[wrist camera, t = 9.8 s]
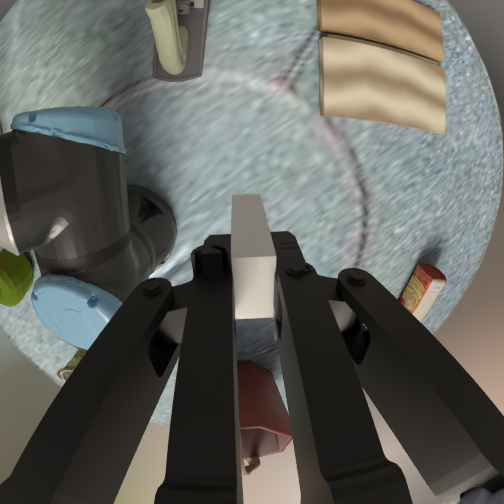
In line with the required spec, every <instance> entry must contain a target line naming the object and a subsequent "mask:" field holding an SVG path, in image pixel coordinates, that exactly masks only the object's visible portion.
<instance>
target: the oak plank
mask: <svg viewBox="0 0 504 504" xmlns="http://www.w3.org/2000/svg"><path fill="white" fill-rule="evenodd" d="M317 15H318V31H321V32H328V33H334V34H340V35H346V36H351V37H356V38H361V39H365V40H370V41H374V42H378V43H382V44H386V45H389V46H393V47H396V48H400V49H403V50H406V51H409V52H412V53H415V54H418V55H421V56H424V57H427V58H430V59H432V60H435V61H444V52H443V38H442V27H441V19H440V13H439V12H437V11H435V10H433V9H431V8H429V7H426V6H424V5H422V4H419V3H417V2H415V1H412V0H317Z"/></svg>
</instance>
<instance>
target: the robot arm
mask: <svg viewBox="0 0 504 504" xmlns="http://www.w3.org/2000/svg"><path fill="white" fill-rule="evenodd" d="M10 127H11V129H12V130H13V131H11V132H8V133H5V134H1V135H0V247H2V248H4V249H6V250H8V251H10V252H11V253H13V254H15V255H17V256H18V255H20V254H23V253H25V252H27V251H30V250H32V249H33V250H34V253H35V256H36V260H37V263H38V266H39V269H40V272H41V277H39V278H38V279H37V280H36V281H35V283H34V288H33V291H32V294H31V300H32V305H33V308H34V310H35V312H36V314H37V316H38V317H39V319H40V320H41V321H42V323H43V324H44V325H45V326H46V327H47V328H48V329H49V330H50V331H51V332H52V333H54V334H55V335H56V336H58V337H59V338H61V339H63V340H64V341H66V342H68V343H69V344H72V345H74V346H76V347H79V348H82V349H86V350H87V352H86V353H85V355H84V356H83V357H82V359H81V360H80V362H79V363H78V365H77V366H76V367H75V369H74V370H73V372H72V373H71V375H70V376H69V378H68V379H67V381H66V382H65V384H64V385H63V387H62V388H61V390H60V391H59V393H58V394H57V396H56V398H55V399H54V401H53V402H52V404H51V405H50V407H49V408H48V410H47V412H46V413H45V415H44V417H43V418H42V420H41V422H40V423H39V425H38V426H37V428H36V430H35V432H34V433H33V435H32V437H31V439H30V440H29V442H28V444H27V446H26V447H25V449H24V451H23V453H22V455H21V456H20V458H19V460H18V462H17V464H16V466H15V468H14V470H13V472H12V474H11V476H10V477H9V478H7V479H6V480H5V481H4V482H3V483H2V484H0V504H113V503H114V501H115V499H116V496H117V494H118V491H119V489H120V487H121V484H122V482H123V480H124V477H125V475H126V472H127V471H128V468H129V466H130V464H131V461H132V459H133V457H134V454H135V452H136V450H137V448H138V445H139V443H140V441H141V439H142V436H143V434H144V432H145V430H146V427H147V425H148V423H149V421H150V419H151V416H152V414H153V412H154V410H155V408H156V405H157V403H158V401H159V399H160V397H161V394H162V392H163V390H164V388H165V386H166V384H167V381H168V379H169V377H170V375H171V373H172V371H173V368H174V366H175V364H176V362H177V360H178V358H179V362H178V369H177V376H176V383H175V390H174V398H173V406H172V414H171V423H170V432H169V441H168V452H167V463H166V474H165V479H164V482H163V483H162V484H161V485H160V487H158V489H157V492H156V495H155V501H154V504H243V489H242V470H241V450H240V429H239V405H238V378H237V346H236V321H235V319H251V318H270V317H274V311H275V316H276V317H275V335H274V340H277V342H278V348H279V354H280V361H281V367H282V373H283V379H284V386H285V392H286V398H287V405H288V411H289V418H290V424H291V431H292V437H293V444H294V450H295V457H296V464H297V470H298V476H299V484H300V490H301V504H413V503H412V500H411V496H410V492H409V489H408V485H407V482H406V479H405V476H404V474H403V472H402V470H401V468H400V467H399V466H398V465H397V464H396V463H393V462H391V461H389V460H388V459H387V458H386V457H385V455H384V452H383V449H382V447H381V443H380V440H379V437H378V434H377V431H376V428H375V425H374V421H373V418H372V416H371V412H370V410H369V407H368V404H367V401H366V398H365V395H364V392H363V389H364V390H365V392H366V393H367V394H368V396H369V397H370V399H371V400H372V402H373V403H374V405H375V406H376V408H377V409H378V411H379V412H380V414H381V415H382V417H383V418H384V420H385V421H386V423H387V424H388V426H389V427H390V429H391V430H392V432H393V433H394V435H395V436H396V438H397V439H398V441H399V442H400V444H401V445H402V447H403V448H404V450H405V451H406V453H407V454H408V456H409V457H410V459H411V460H412V462H413V463H414V465H415V466H416V468H417V470H418V471H419V473H420V474H421V476H422V477H423V479H424V480H425V482H426V483H427V485H428V486H429V488H430V489H431V490H432V492H433V493H434V495H435V496H436V497H437V498H438V499H439V500H440V501H441V502H442V503H443V504H504V416H503V415H502V413H501V412H500V411H499V410H498V408H497V407H496V406H495V405H494V403H493V402H492V401H491V400H490V398H489V397H488V396H487V395H486V394H485V392H484V391H483V390H482V389H481V388H480V387H479V385H478V384H477V383H476V382H475V381H474V380H473V378H472V377H471V376H470V375H469V374H468V373H467V372H466V371H465V369H464V368H463V367H462V366H461V365H460V364H459V363H458V361H457V360H456V359H455V358H454V357H453V356H452V355H451V354H450V353H449V352H448V351H447V349H446V348H445V347H444V346H443V345H442V344H441V343H440V342H439V341H438V340H437V339H436V338H435V337H434V336H433V335H432V334H431V333H430V332H429V331H428V329H427V328H426V327H425V326H424V325H423V324H422V323H421V322H420V321H419V320H418V319H417V318H416V317H415V316H414V315H413V314H412V313H411V312H410V311H409V310H408V309H407V308H406V307H405V306H404V305H403V304H402V303H401V302H400V301H399V300H397V299H396V298H395V297H394V296H393V295H392V294H391V293H390V292H389V291H388V290H387V289H386V288H385V287H384V286H383V285H382V284H381V283H380V282H379V281H378V280H376V279H375V278H374V277H373V276H372V275H371V274H370V273H368V272H367V271H364V270H361V269H358V268H348V269H344V270H342V271H341V272H340V273H339V274H338V279H337V278H330V277H324V276H320V275H318V274H317V272H316V270H315V269H314V267H313V266H312V265H310V264H308V263H306V262H305V259H304V257H303V254H302V252H301V250H300V248H299V245H298V243H297V240H296V238H295V236H294V235H293V234H291V233H290V232H289V231H281V232H270V230H269V226H268V222H267V218H266V214H265V211H264V207H263V203H262V199H261V196H260V194H242V195H232V220H231V234H223V235H210V236H209V237H208V238H207V239H206V240H205V241H204V245H202V246H199V247H197V248H196V249H194V250H193V251H192V253H191V261H192V267H193V274H194V276H193V279H192V280H191V281H189V282H187V283H184V284H181V285H177V286H173V287H172V285H171V282H169V281H168V280H167V279H164V278H150V279H149V276H150V275H151V274H152V273H153V272H154V271H155V270H157V269H158V268H160V267H161V266H162V265H163V264H164V263H165V262H166V261H167V259H168V258H169V256H170V254H171V252H172V250H173V247H174V244H175V241H176V223H175V219H174V217H173V214H172V212H171V210H170V209H169V207H168V206H167V204H166V203H165V202H164V201H163V200H162V199H161V198H160V197H159V196H158V195H157V194H155V193H154V192H152V191H150V190H148V189H146V188H143V187H140V186H134V185H127V183H126V166H125V154H126V149H125V148H124V141H123V127H122V120H121V117H120V115H119V114H118V113H117V112H116V111H114V110H112V109H110V108H105V107H88V106H77V107H58V108H48V109H41V110H36V111H31V112H23V113H19V114H17V115H15V117H14V118H13V120H12V123H11V125H10ZM363 324H364V325H365V326H366V327H367V328H366V327H365V326H364V325H363ZM361 386H362V387H363V389H362V387H361Z"/></svg>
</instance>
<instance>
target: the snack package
mask: <svg viewBox="0 0 504 504" xmlns="http://www.w3.org/2000/svg"><path fill="white" fill-rule="evenodd" d="M445 283H446V277H445V275H444V274H443V273H442V272H441V271H440V270H439V269H437V268H436V267H434V266H431V265H427V264H418V265H417V266H416V269H415V271H414V273H413V275H412V277H411V279H410V281H409V283H408V285H407V286H406V288H405V290H404V292H403V294H402V296H401V298H400V300H399V301H400V302H401V303H402V304H403V305H404V306H405V307H406V308H407V309H408V310H409V311H410V312H411V313H412V314H413V315H414V316H415V317H416V318H417V319H418V320H419V321H420V322H422V320H423V319H424V317H425V315H426V314H427V312H428V310H429V309H430V307H431V306H432V304H433V302H434V301H435V299H436V298H437V296H438V294H439V293H440V291H441V289H442V288H443V286H444V285H445Z"/></svg>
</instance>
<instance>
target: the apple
mask: <svg viewBox="0 0 504 504" xmlns="http://www.w3.org/2000/svg"><path fill="white" fill-rule="evenodd" d="M33 278H34V275H33V269H32V266H31V264H30V262H29V260H28V259H27V258H26V256H25V255H24V254H20V255H18V256H17V255H15V254H13V253H11V252H10V251H8V250H6V249H4V250H3V251H1V252H0V304H3V305H6V306H9V307H11V306H15V305H16V304H18V303H19V302H20V301H21V300H22V299H23V297H24V295H25V294H26V292H27V291H28V289H29V287H30V286H31V284H32V283H33Z"/></svg>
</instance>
